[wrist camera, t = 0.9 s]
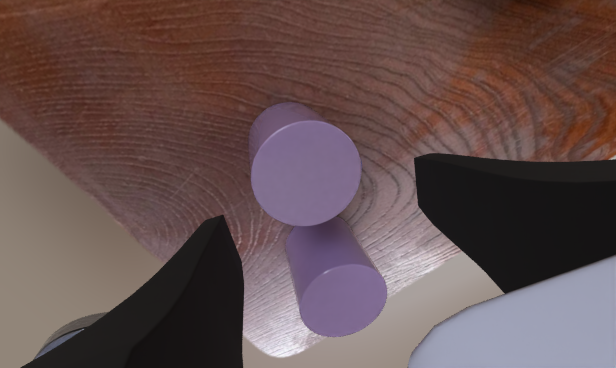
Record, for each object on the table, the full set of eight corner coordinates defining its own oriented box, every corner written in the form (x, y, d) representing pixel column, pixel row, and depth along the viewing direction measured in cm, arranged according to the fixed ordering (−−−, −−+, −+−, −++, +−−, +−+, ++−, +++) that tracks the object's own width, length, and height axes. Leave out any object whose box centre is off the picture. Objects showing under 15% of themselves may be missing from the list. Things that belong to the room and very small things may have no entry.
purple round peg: (291, 281, 24) (306, 347, 18) (279, 222, 22) (292, 277, 16) (356, 264, 25) (389, 324, 19) (350, 206, 22) (386, 254, 17)
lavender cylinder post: (256, 189, 21) (263, 237, 15) (239, 110, 18) (239, 132, 13) (333, 173, 21) (365, 214, 16) (324, 95, 19) (357, 110, 14)
